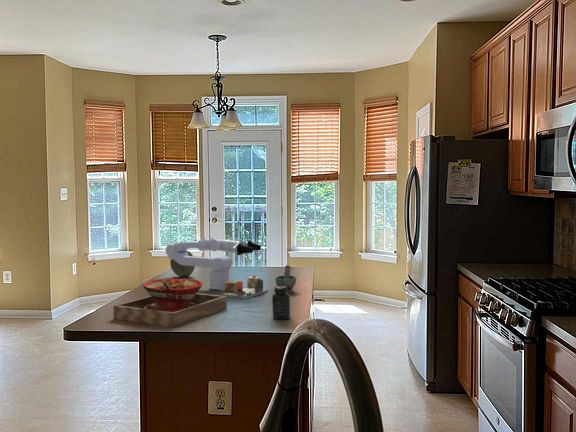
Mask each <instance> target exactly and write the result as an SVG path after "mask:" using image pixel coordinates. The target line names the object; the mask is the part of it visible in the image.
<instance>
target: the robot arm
mask: <svg viewBox="0 0 576 432" xmlns="http://www.w3.org/2000/svg"><path fill="white" fill-rule="evenodd" d="M189 249H198V250H199V251H203V252H204V251H205V252H206V251H212V252H217V251H221V252H227V253H234V254H235V253H236V254H237V256H240V255H243V254H251V253H254V252H255V251H256V252H257V251H261V250H262V245H260V244H257V243H255V242H253V241H252V240H247V242H245V241H243V239H242V238H240V239H239V240H232V239H231V240H230V239H223V238H219V237H218V238H213V237H211V238H206V237H202V238H200V239H199V240H197V241H182V242H176V243H173V244H172V243H171V244H167V245H166V247H165V254H166V255H167V257H168V259H170V260H171V259H173V260H175V261H176V262H177V263H179V264H180V265H187V266H195V267H203V268H209V269H212V270H211V271H210V273H209V287H208V289H209V290H219V291H221V290H225V283H226V282H227V281H230V280H231V279H230V276H231V275H230V270H231V267H232V265H233V260H232V258H231V257H230V256H228V255H224V256H221V257H219V256H218V257H207V256H205V257H204V256H194V255H193V256H188V253H187V251H189Z"/></svg>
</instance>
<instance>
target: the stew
mask: <svg viewBox="0 0 576 432" xmlns="http://www.w3.org/2000/svg"><path fill="white" fill-rule="evenodd" d="M203 284H204V283H203V281H200V280H199V279H193V278H192V279H191V278H175V277H174V278H173V277H170V278H169V277H166V278H160V279H152V280H149V281H147V282H144V283H143V285H142V287H143V289H144V290H145V291H146V292H147V294H148V295H149V296H152V297H153V299H155V301H156V303H152V304H148V305H147V306H143V308H142V309H150V310H158V311H166V312H176V311H179V310H182V309H185V308H189V307H192V306H195V305H197V304H195V303H190V301H191V300H192V299H193V297H194V296H195V295H196V293H199V291H200V289H202V288H201V287H202V286H203ZM192 304H193V305H192Z"/></svg>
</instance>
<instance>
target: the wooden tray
mask: <svg viewBox="0 0 576 432" xmlns="http://www.w3.org/2000/svg"><path fill="white" fill-rule="evenodd" d="M227 299H228V297H227V296H220V294H219V295H217V294H208V293H199V292H197V293H196V295H195V296H194V297H193V299H192V300H191V301H190V303H195V304H197V305H193V304H192V305H191V307H189V308H185V309H182V310H179V311H176V312H166V311H158V310H150V309H142V308H143V306H147V305H148V304H152V303H156V301H155V299H153V297H152V296H150V295H149V296H146V297H141V298H138V299H134V300H130V301H127V302H126V301H125V302H122V303H117V304H113V307H112V308H113V319H114V320H121V321H127V320H128V322H134V321H135V322H134V323H141V322H142V324H148V325H149V324H150V325H156V326H161V325H162V326H164V327H168V326H169V328H175V326H176V327H178V325H179V326H181V324H182V325H184V324H187V323H190V322H192V320H193V321H195V320H194V319H196V320H198V319H200V317H201V318H203V316H204V317H206V316H205V315H207V316H208V315H212V314H214V313H218V312H221V311H223V310H226V309H228V304H227V302H228V300H227ZM211 313H212V314H211ZM197 318H198V319H197ZM189 321H190V322H189ZM186 322H187V323H186Z"/></svg>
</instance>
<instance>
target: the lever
mask: <svg viewBox="0 0 576 432" xmlns="http://www.w3.org/2000/svg"><path fill="white" fill-rule="evenodd" d="M236 281H237V280H236ZM243 283H244V282H243V280H238V281H237V291H235V295H244V294H245V291H243V289H244V284H243Z"/></svg>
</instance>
